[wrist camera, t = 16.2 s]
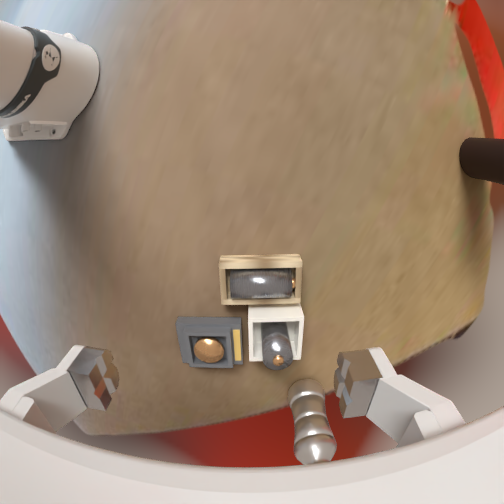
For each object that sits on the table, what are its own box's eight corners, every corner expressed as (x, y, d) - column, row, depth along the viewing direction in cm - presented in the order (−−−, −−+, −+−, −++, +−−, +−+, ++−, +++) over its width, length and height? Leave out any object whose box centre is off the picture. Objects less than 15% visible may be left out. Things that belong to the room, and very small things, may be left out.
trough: (223, 295, 43) (221, 304, 40) (220, 255, 41) (218, 263, 38) (297, 293, 43) (300, 303, 40) (299, 254, 41) (302, 261, 38)
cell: (260, 336, 44) (262, 373, 36) (260, 315, 43) (263, 350, 35) (286, 335, 44) (292, 372, 36) (287, 314, 43) (294, 349, 35)
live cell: (232, 290, 42) (230, 304, 38) (231, 264, 41) (229, 276, 37) (292, 289, 42) (295, 302, 38) (293, 263, 40) (297, 274, 37)
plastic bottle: (320, 395, 50) (340, 480, 31) (286, 399, 50) (296, 487, 32) (323, 372, 48) (347, 462, 29) (285, 376, 48) (297, 470, 29)
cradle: (185, 355, 47) (181, 368, 44) (178, 316, 44) (173, 328, 41) (243, 356, 47) (242, 370, 44) (241, 317, 44) (240, 329, 41)
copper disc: (196, 359, 44) (195, 362, 43) (192, 336, 42) (191, 339, 41) (225, 359, 44) (224, 363, 43) (222, 336, 42) (222, 339, 41)
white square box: (249, 341, 46) (249, 361, 41) (248, 301, 43) (248, 318, 39) (296, 340, 46) (300, 359, 41) (299, 299, 43) (304, 317, 39)
